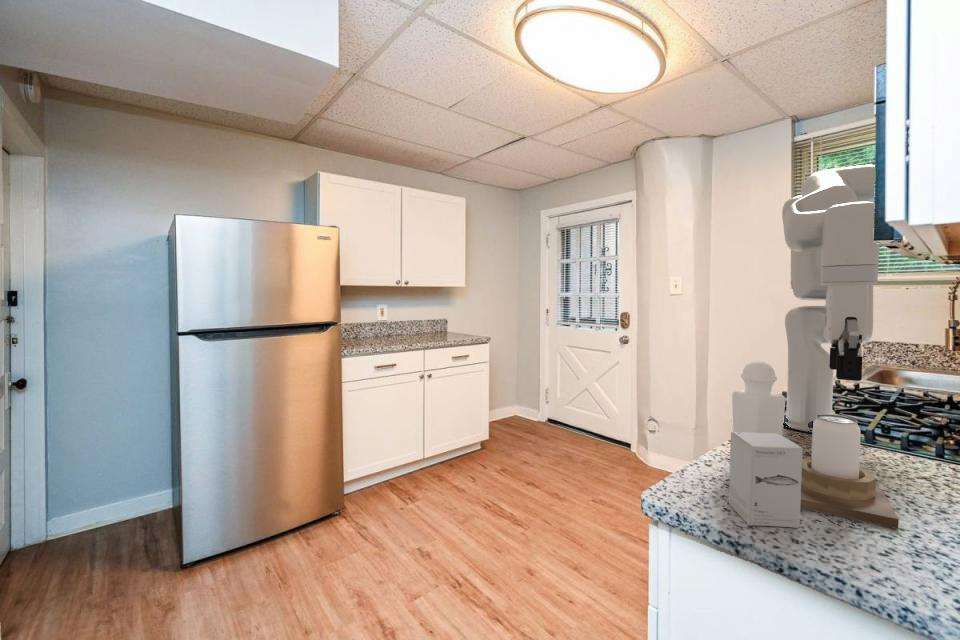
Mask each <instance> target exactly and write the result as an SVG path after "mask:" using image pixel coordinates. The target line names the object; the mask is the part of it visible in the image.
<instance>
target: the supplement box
mask: <svg viewBox="0 0 960 640" xmlns="http://www.w3.org/2000/svg"><path fill="white" fill-rule="evenodd" d="M803 449H804V447H801V445H799V444H797V443H795V442H793V441H791V440H790V439H788V438H786V437H784V436H783V435H782V436H781V435H779V434H777V433H749V432H733V431H731V432H730V449H729V450H730V452H729V454H730V457H729V458H730V460H729V486H728V487H729V490H728V491H729V492H728V494H729V495H728V503H729V505H730V506H731V507H732V509H733V510H734V511H735V512H736V513H737V515H739V516H740V517H741V518H742V520H744V522H745V523H747V525H749V527H750V526H761V527H762V526H764V527H765V526H766V527H783V528H793V529H799V528H800V526H801V525H800V524H801V508H800V504H801V477H802V460H803Z"/></svg>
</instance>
